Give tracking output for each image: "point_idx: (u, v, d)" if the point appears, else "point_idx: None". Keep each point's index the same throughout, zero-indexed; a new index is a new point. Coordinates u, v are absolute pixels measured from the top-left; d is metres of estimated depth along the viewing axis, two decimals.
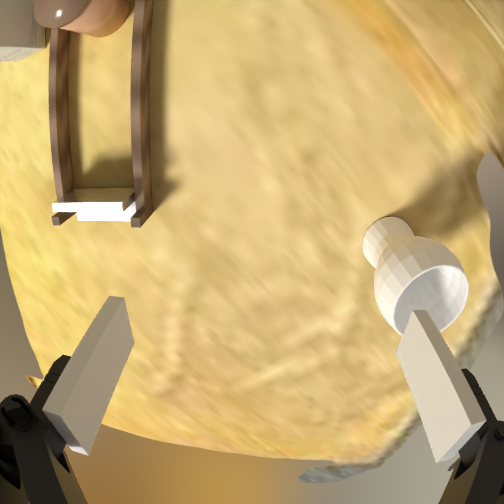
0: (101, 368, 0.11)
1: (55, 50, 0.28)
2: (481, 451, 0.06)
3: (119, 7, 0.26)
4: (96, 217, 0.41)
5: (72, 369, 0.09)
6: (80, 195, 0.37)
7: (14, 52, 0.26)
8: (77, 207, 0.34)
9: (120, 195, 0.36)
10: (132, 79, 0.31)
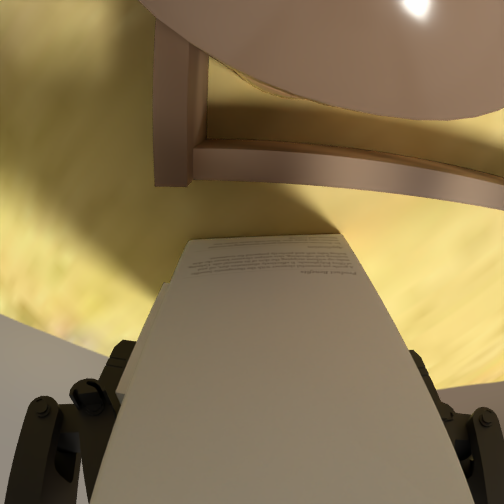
0: None
1: (408, 171, 0.11)
2: None
3: None
4: None
5: None
6: None
7: None
8: None
9: None
10: None
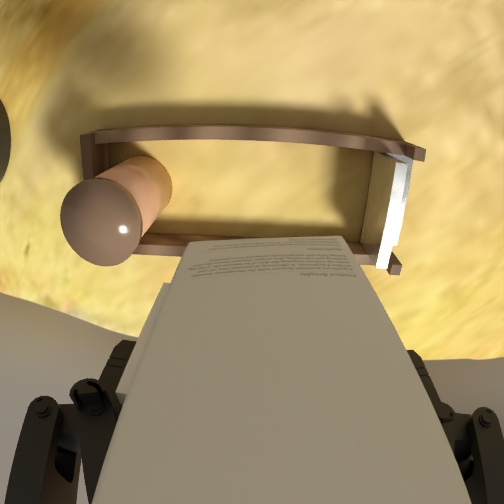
0: None
1: (177, 247, 0.33)
2: None
3: (134, 161, 0.29)
4: (400, 217, 0.33)
5: (141, 351, 0.10)
6: (373, 228, 0.31)
7: None
8: (390, 229, 0.28)
9: (383, 170, 0.28)
10: (235, 137, 0.28)
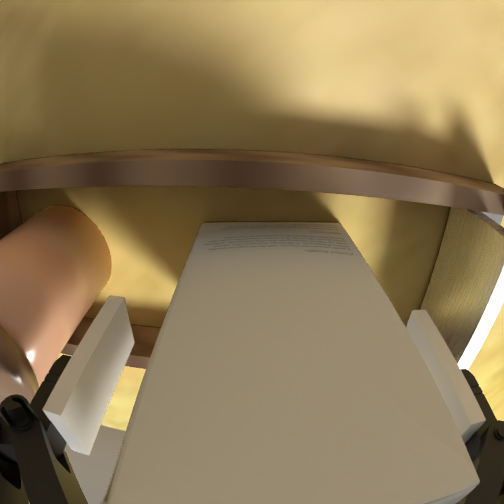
0: (101, 368, 0.11)
1: None
2: (481, 451, 0.06)
3: (39, 222, 0.15)
4: None
5: (72, 369, 0.09)
6: (440, 331, 0.17)
7: None
8: (474, 347, 0.14)
9: (476, 244, 0.14)
10: (206, 181, 0.14)
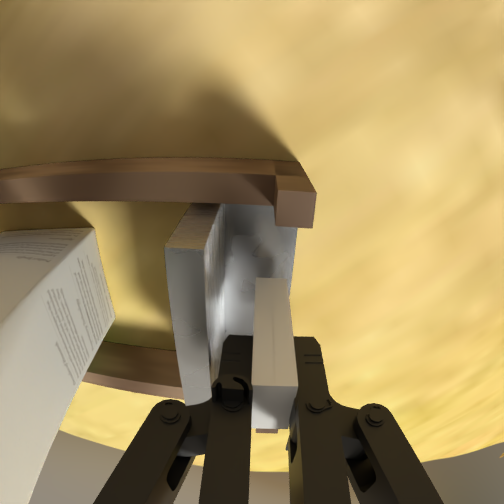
0: None
1: None
2: (299, 433, 0.08)
3: None
4: None
5: (262, 343, 0.11)
6: None
7: (58, 310, 0.12)
8: (197, 388, 0.12)
9: None
10: None
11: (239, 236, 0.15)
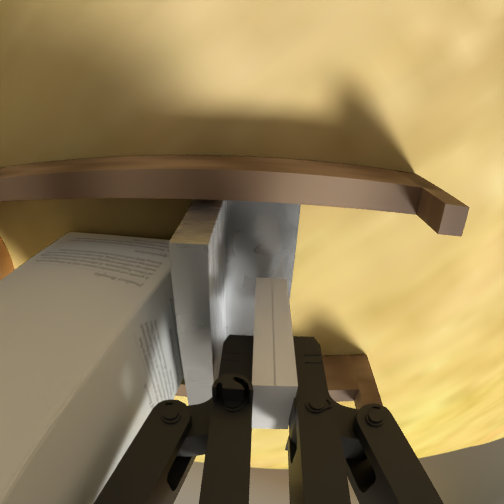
0: None
1: None
2: (298, 433, 0.08)
3: None
4: None
5: (262, 343, 0.11)
6: None
7: (150, 346, 0.11)
8: (200, 383, 0.12)
9: None
10: (43, 194, 0.12)
11: (240, 233, 0.15)
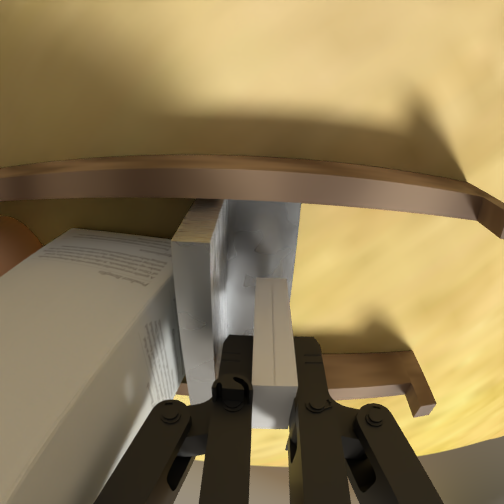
0: None
1: None
2: (298, 433, 0.08)
3: None
4: None
5: (262, 343, 0.11)
6: None
7: (154, 346, 0.11)
8: (201, 381, 0.12)
9: None
10: (111, 192, 0.12)
11: (241, 232, 0.15)
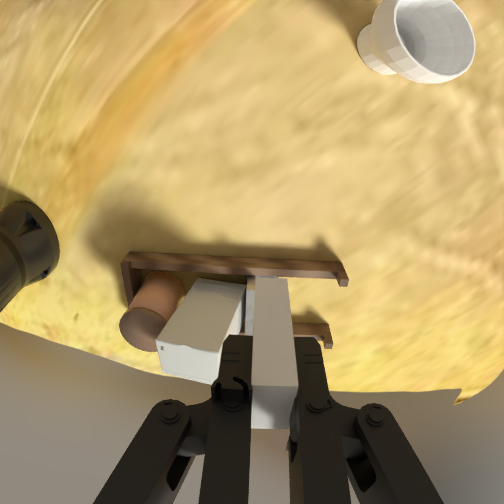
0: None
1: None
2: (299, 433, 0.08)
3: (159, 280, 0.47)
4: None
5: (262, 343, 0.11)
6: None
7: (239, 314, 0.45)
8: (249, 325, 0.46)
9: None
10: (223, 272, 0.46)
11: None
